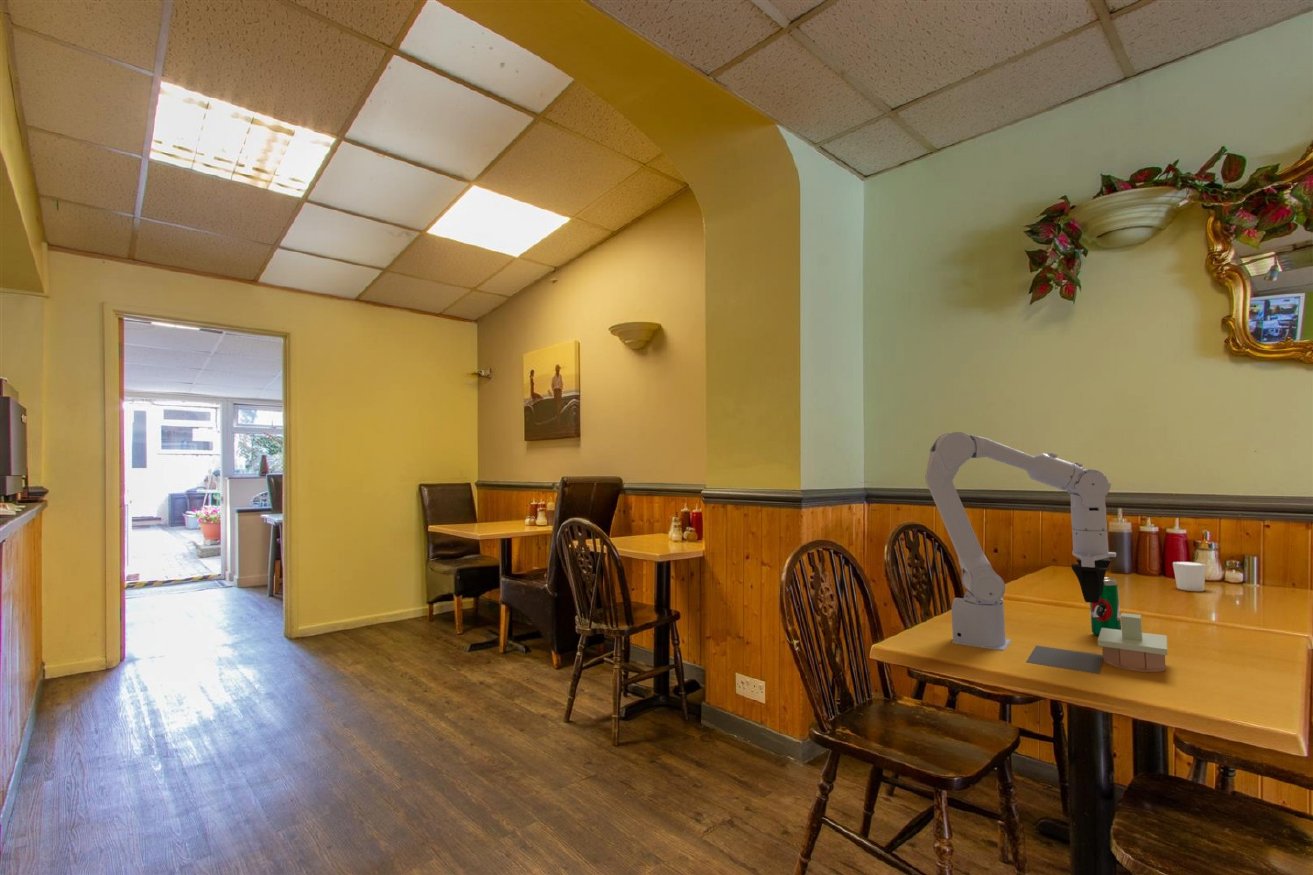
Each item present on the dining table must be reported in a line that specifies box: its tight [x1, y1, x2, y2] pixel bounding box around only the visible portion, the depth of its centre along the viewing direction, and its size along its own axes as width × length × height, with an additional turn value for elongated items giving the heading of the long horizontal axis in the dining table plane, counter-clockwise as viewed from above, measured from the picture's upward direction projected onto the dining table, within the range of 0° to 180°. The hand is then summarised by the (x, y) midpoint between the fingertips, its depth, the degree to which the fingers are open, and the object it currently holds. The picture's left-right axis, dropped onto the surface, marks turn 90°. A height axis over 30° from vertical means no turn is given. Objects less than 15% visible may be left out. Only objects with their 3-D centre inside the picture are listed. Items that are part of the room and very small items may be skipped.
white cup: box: [1172, 561, 1206, 592], centre depth 166 cm, size 7×7×7 cm
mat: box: [1025, 645, 1104, 675], centre depth 113 cm, size 11×12×1 cm
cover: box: [1097, 612, 1168, 656], centre depth 110 cm, size 10×10×5 cm
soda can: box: [1089, 576, 1122, 637], centre depth 127 cm, size 5×5×12 cm
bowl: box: [1101, 646, 1167, 673], centre depth 110 cm, size 9×9×4 cm
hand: (1093, 598), depth 120 cm, fingers open, 7 cm apart
